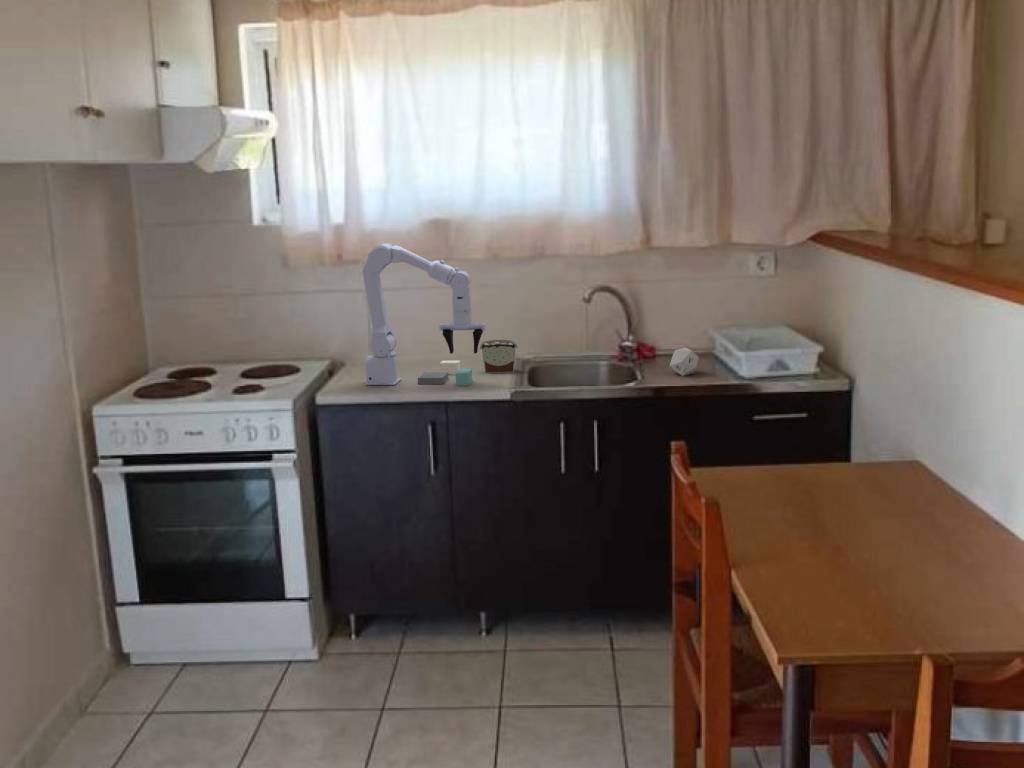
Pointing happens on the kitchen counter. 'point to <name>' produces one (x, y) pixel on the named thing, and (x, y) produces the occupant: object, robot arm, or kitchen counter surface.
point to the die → (684, 361)
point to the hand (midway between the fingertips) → (463, 352)
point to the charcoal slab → (433, 378)
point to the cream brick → (450, 366)
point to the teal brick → (463, 376)
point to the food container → (498, 355)
